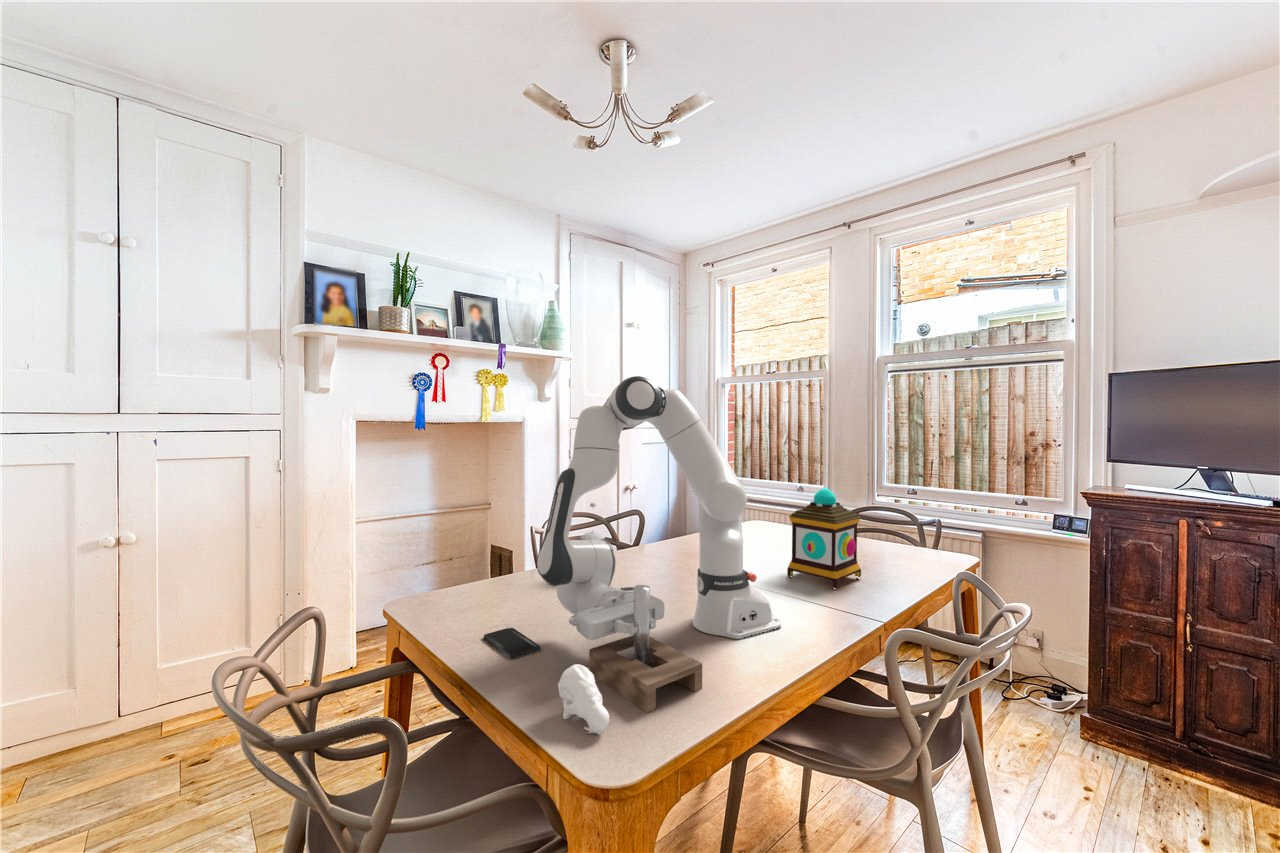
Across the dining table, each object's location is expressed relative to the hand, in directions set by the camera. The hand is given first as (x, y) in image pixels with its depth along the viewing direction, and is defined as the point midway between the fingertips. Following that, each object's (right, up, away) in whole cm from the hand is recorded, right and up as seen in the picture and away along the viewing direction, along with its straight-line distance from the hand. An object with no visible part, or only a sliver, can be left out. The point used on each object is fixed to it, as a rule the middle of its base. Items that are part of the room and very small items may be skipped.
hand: (644, 627), depth 108 cm
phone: (-31, -11, +17) cm, 37 cm away
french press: (-16, -9, +68) cm, 70 cm away
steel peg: (-1, -10, +1) cm, 10 cm away
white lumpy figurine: (-10, -11, -14) cm, 21 cm away
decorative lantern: (+60, -10, +69) cm, 92 cm away
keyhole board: (0, -11, 0) cm, 11 cm away
